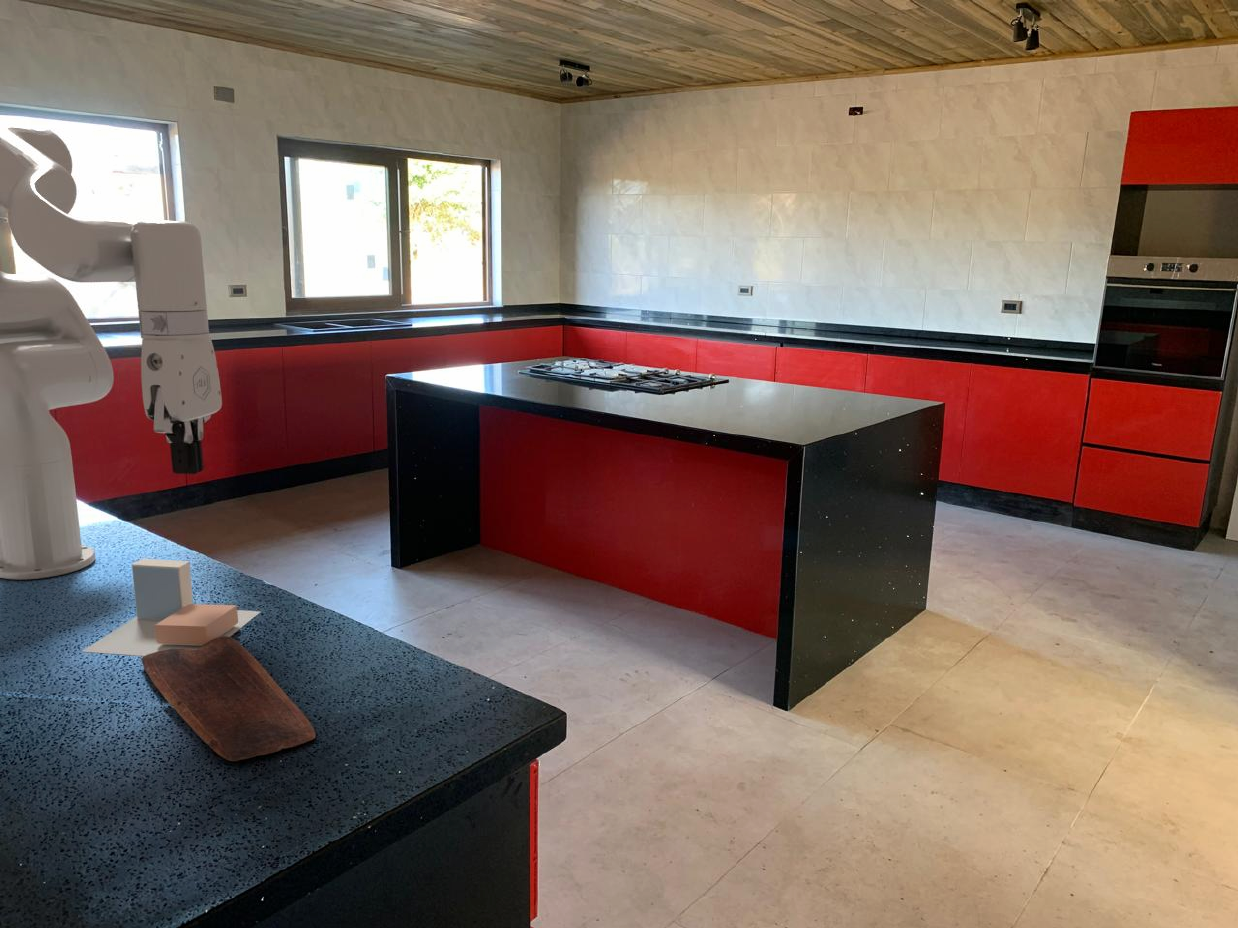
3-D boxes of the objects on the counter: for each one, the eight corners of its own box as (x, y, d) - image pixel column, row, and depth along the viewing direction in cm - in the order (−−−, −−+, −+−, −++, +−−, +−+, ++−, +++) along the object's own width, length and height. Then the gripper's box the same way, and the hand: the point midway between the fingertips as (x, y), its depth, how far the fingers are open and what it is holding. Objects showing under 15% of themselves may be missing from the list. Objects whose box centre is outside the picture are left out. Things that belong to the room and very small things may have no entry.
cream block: (136, 619, 110) (130, 564, 109) (147, 611, 113) (142, 558, 111) (183, 622, 110) (178, 567, 108) (193, 614, 112) (189, 561, 110)
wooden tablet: (325, 725, 85) (213, 749, 78) (323, 748, 85) (212, 772, 79) (232, 630, 104) (136, 642, 98) (231, 649, 105) (135, 662, 98)
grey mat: (81, 654, 101) (81, 651, 101) (155, 607, 115) (155, 604, 115) (200, 663, 100) (200, 659, 100) (261, 614, 114) (260, 611, 114)
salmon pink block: (191, 622, 110) (157, 644, 103) (189, 603, 109) (155, 624, 102) (238, 624, 109) (207, 646, 102) (236, 605, 109) (205, 626, 102)
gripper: (168, 331, 102) (183, 487, 106) (235, 322, 117) (246, 460, 121) (105, 329, 103) (123, 485, 107) (179, 321, 118) (192, 458, 122)
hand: (188, 472), depth 114 cm, fingers closed
